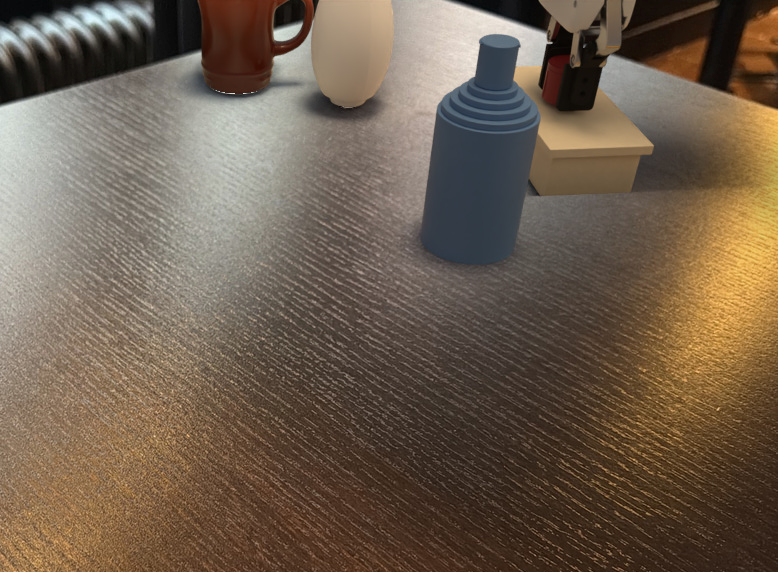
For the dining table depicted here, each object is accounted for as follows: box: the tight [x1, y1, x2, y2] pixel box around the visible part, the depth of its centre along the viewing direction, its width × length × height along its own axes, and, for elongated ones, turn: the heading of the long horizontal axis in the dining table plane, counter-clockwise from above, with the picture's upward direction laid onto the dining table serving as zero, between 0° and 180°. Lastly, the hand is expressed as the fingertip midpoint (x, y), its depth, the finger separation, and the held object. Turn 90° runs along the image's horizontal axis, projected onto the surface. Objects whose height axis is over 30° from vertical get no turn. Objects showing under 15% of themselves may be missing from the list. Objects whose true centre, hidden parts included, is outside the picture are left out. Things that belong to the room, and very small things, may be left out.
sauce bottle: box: [310, 0, 395, 108], centre depth 95 cm, size 8×8×18 cm
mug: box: [196, 0, 315, 94], centre depth 101 cm, size 12×9×10 cm
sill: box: [513, 65, 655, 197], centre depth 90 cm, size 9×18×5 cm, turn 5°
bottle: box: [419, 33, 541, 266], centre depth 73 cm, size 7×7×17 cm
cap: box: [542, 55, 571, 105], centre depth 88 cm, size 4×4×3 cm
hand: (564, 96), depth 88 cm, fingers closed on cap, 3 cm apart
